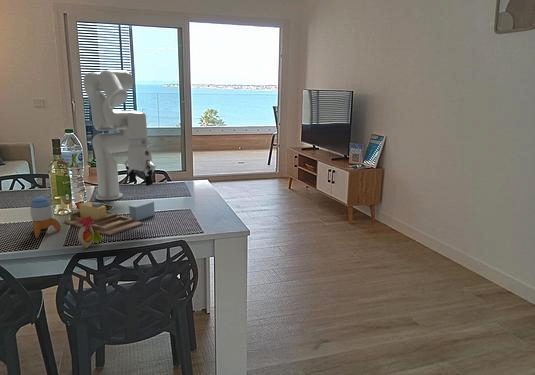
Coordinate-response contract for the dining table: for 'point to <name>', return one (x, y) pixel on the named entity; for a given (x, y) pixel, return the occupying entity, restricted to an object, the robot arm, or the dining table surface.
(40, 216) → the toy rocket
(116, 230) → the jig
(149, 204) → the plank
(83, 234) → the bird rattle
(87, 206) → the block
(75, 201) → the dining table surface
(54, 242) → the dining table surface
